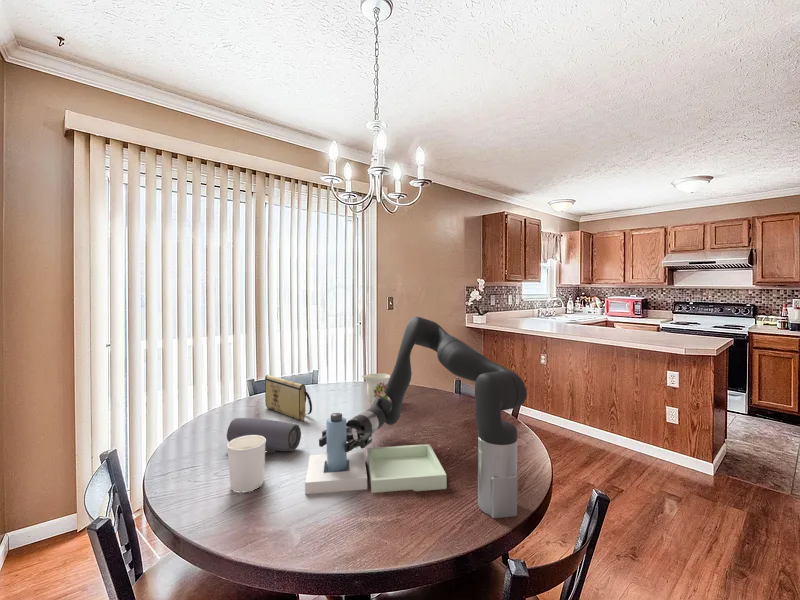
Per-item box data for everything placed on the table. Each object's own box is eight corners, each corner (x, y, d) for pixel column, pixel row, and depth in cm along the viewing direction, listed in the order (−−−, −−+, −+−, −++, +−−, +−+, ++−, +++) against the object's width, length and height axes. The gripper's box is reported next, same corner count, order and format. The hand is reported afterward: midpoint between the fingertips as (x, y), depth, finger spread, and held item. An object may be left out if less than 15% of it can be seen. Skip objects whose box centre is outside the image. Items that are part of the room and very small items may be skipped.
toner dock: (367, 491, 101) (367, 477, 101) (305, 496, 99) (304, 482, 99) (363, 463, 117) (363, 451, 117) (310, 467, 115) (310, 455, 114)
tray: (446, 488, 102) (446, 474, 102) (371, 495, 99) (371, 480, 99) (429, 455, 122) (429, 444, 122) (366, 460, 119) (366, 448, 119)
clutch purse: (316, 418, 157) (316, 382, 156) (302, 423, 152) (301, 385, 151) (276, 404, 176) (276, 371, 176) (262, 407, 171) (261, 374, 170)
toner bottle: (346, 480, 106) (346, 417, 105) (326, 482, 105) (326, 418, 104) (346, 470, 111) (346, 410, 110) (327, 472, 110) (326, 411, 110)
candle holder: (254, 473, 111) (254, 432, 111) (273, 484, 105) (273, 440, 105) (221, 486, 104) (220, 443, 103) (239, 499, 97) (238, 453, 97)
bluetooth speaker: (302, 447, 128) (302, 418, 128) (287, 460, 120) (286, 428, 119) (244, 440, 135) (243, 412, 134) (225, 451, 126) (225, 421, 125)
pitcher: (403, 405, 173) (403, 375, 173) (365, 410, 167) (365, 379, 166) (395, 399, 183) (395, 370, 183) (358, 403, 177) (358, 373, 176)
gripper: (343, 411, 123) (311, 428, 109) (382, 417, 118) (354, 436, 103) (343, 434, 124) (311, 454, 109) (382, 441, 118) (355, 464, 103)
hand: (332, 446), depth 106 cm, fingers open, 8 cm apart
